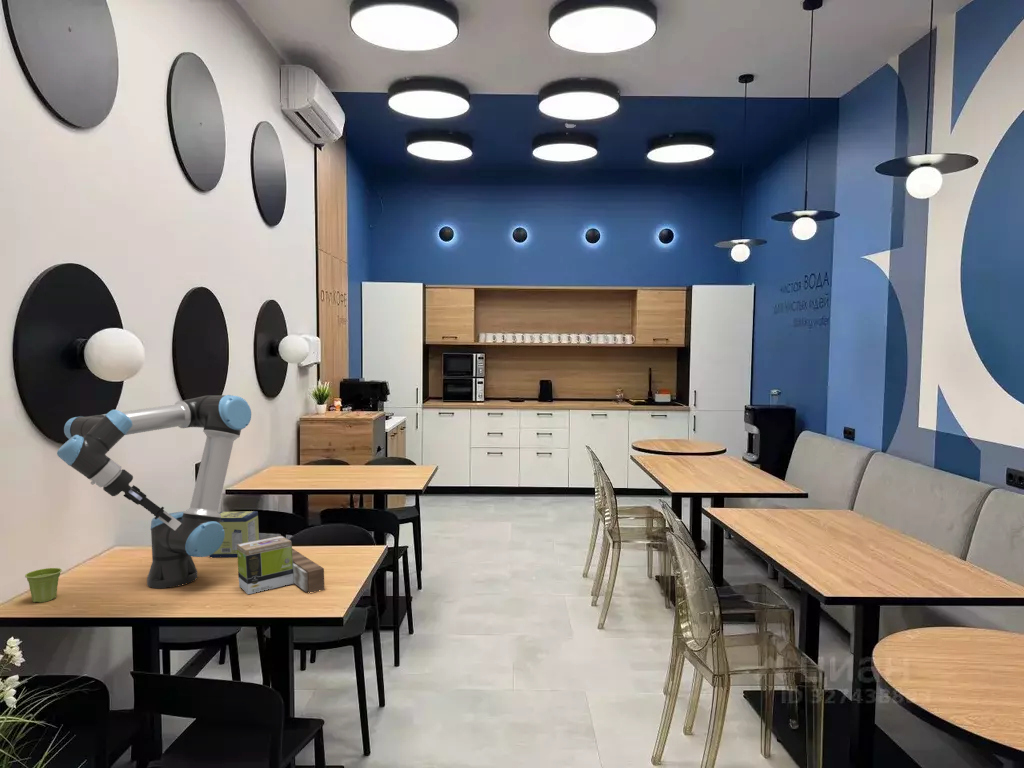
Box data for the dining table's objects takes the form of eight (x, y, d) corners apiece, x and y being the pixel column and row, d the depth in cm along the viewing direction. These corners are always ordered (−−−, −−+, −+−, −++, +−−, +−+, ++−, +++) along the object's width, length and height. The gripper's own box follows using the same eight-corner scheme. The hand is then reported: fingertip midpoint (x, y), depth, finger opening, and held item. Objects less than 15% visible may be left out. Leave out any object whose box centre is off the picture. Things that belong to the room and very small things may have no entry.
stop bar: (276, 571, 225) (275, 551, 225) (292, 567, 229) (292, 548, 229) (306, 594, 202) (306, 572, 201) (324, 589, 205) (323, 568, 205)
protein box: (221, 550, 253) (220, 511, 253) (260, 549, 253) (258, 510, 252) (208, 558, 243) (206, 517, 242) (248, 557, 242) (247, 517, 242)
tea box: (283, 577, 219) (282, 534, 218) (294, 584, 211) (292, 540, 210) (237, 587, 209) (236, 542, 209) (247, 595, 202) (245, 549, 201)
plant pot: (60, 591, 208) (59, 565, 208) (65, 599, 201) (64, 572, 201) (24, 599, 202) (23, 572, 202) (28, 607, 195) (27, 579, 195)
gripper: (98, 486, 187) (163, 533, 198) (104, 491, 177) (173, 540, 188) (119, 466, 190) (182, 513, 201) (126, 470, 180) (192, 519, 191)
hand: (177, 526), depth 194 cm, fingers closed
